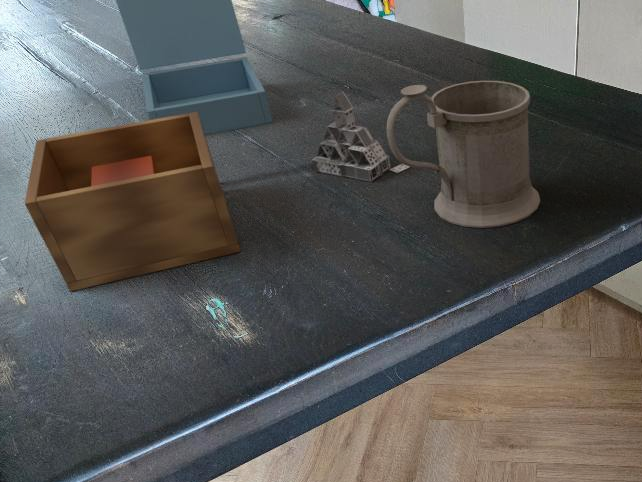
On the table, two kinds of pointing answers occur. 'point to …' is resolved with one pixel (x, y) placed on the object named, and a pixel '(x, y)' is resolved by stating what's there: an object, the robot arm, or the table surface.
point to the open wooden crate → (129, 202)
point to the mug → (477, 151)
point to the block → (123, 170)
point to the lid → (180, 30)
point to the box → (209, 95)
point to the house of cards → (351, 147)
